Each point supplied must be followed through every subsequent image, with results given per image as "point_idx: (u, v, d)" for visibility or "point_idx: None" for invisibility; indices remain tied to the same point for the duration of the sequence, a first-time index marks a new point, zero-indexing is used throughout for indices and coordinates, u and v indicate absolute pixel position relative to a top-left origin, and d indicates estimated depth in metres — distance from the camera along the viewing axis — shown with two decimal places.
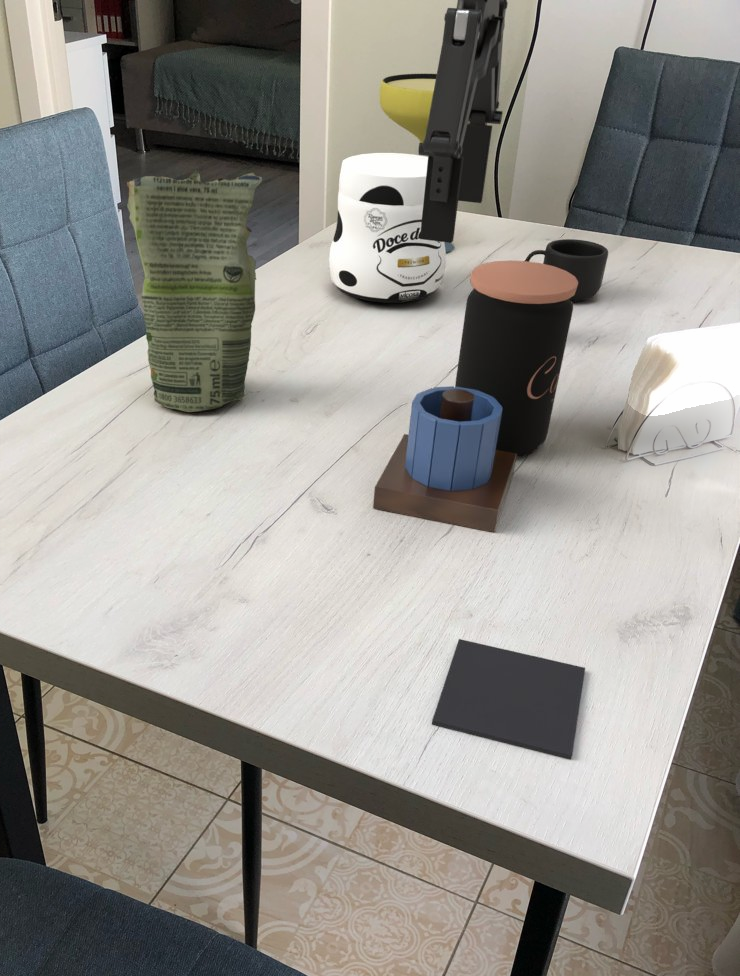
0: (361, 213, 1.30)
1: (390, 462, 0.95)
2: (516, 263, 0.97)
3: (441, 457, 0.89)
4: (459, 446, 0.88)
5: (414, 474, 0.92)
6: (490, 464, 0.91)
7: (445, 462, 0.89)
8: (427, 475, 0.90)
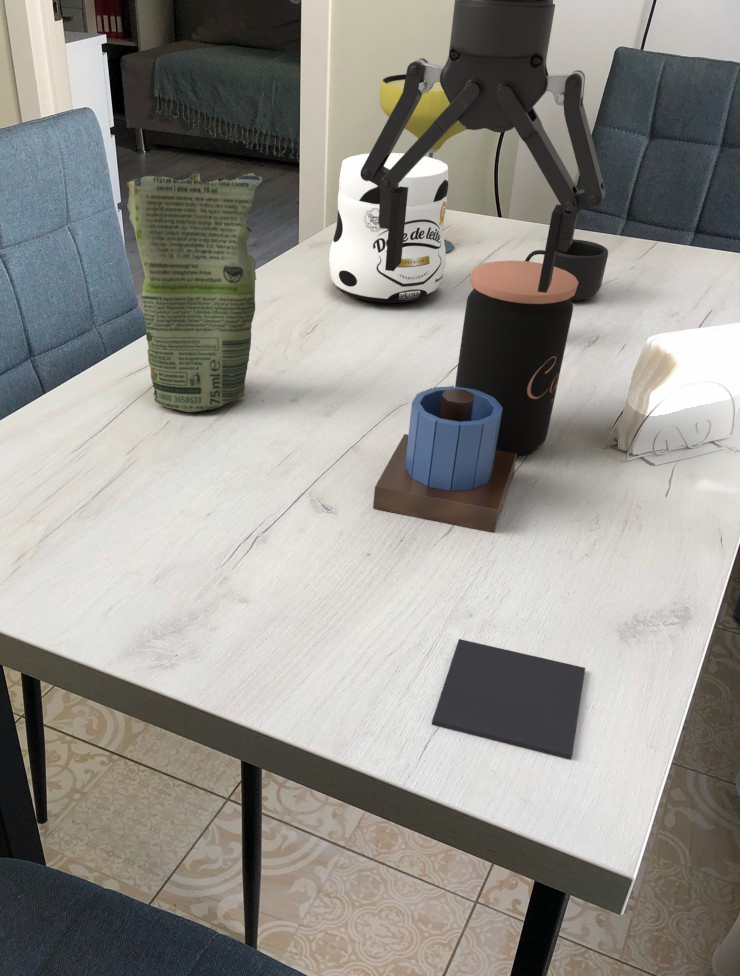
0: (361, 213, 1.30)
1: (390, 462, 0.95)
2: (516, 263, 0.97)
3: (441, 457, 0.89)
4: (459, 446, 0.88)
5: (414, 474, 0.92)
6: (490, 464, 0.91)
7: (445, 462, 0.89)
8: (427, 475, 0.90)
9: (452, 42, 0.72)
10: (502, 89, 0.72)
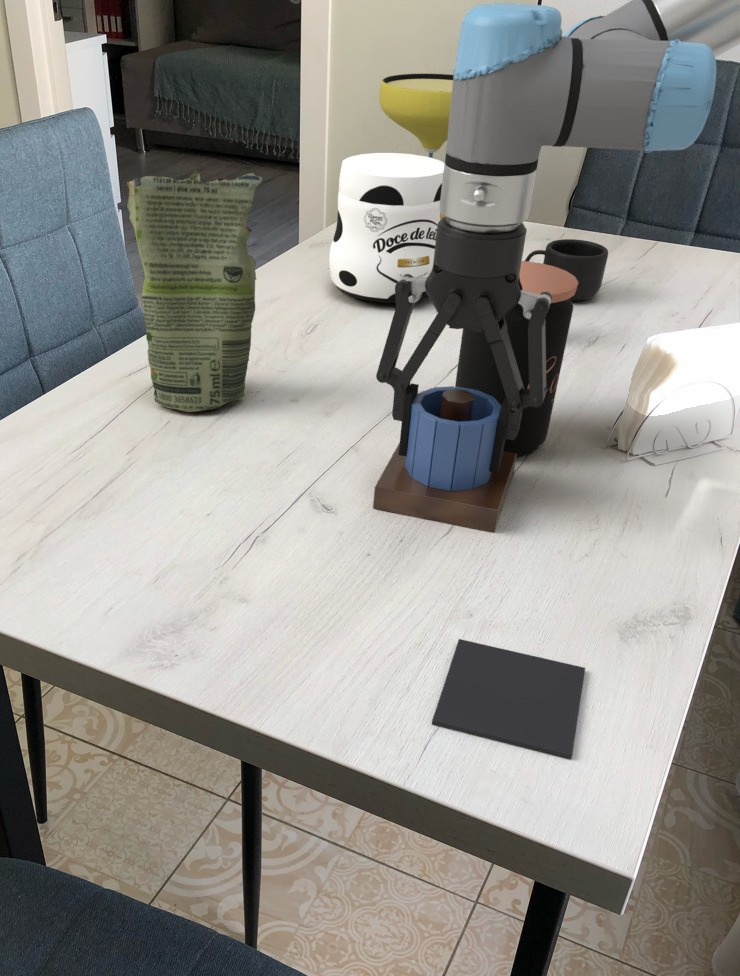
0: (361, 213, 1.30)
1: (390, 462, 0.95)
2: None
3: (441, 457, 0.89)
4: (459, 446, 0.88)
5: (414, 474, 0.92)
6: (490, 464, 0.91)
7: (445, 462, 0.89)
8: (427, 475, 0.90)
9: (435, 260, 0.81)
10: (481, 300, 0.81)
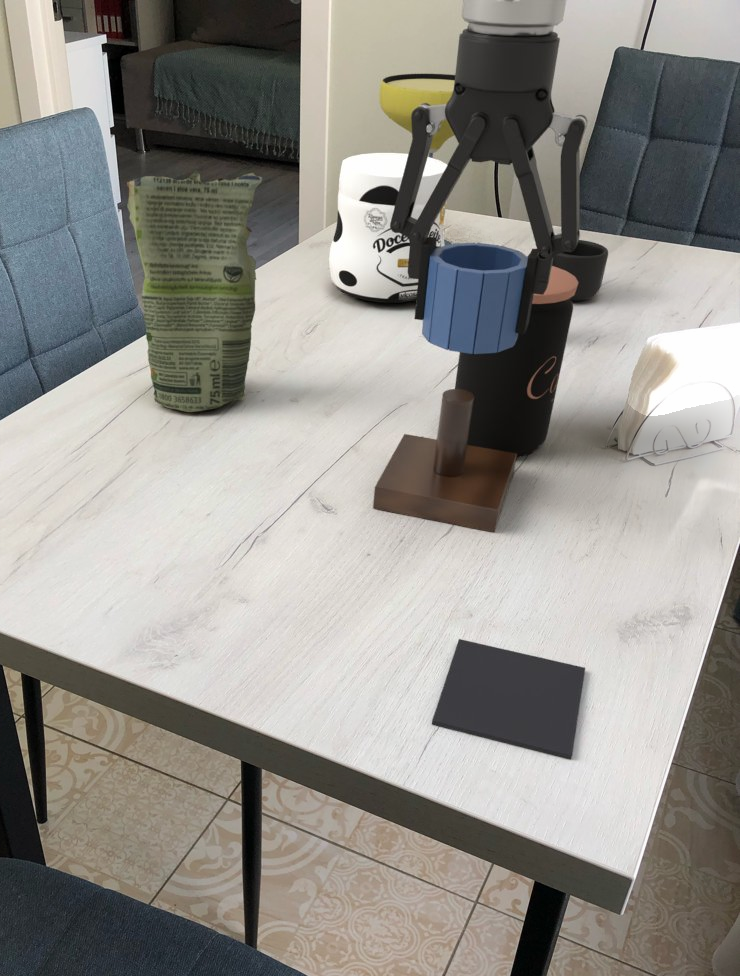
0: (361, 213, 1.30)
1: (390, 462, 0.95)
2: None
3: (462, 313, 0.80)
4: (483, 299, 0.79)
5: (432, 337, 0.83)
6: (516, 325, 0.82)
7: (467, 319, 0.80)
8: (447, 336, 0.82)
9: (457, 77, 0.72)
10: (508, 122, 0.73)
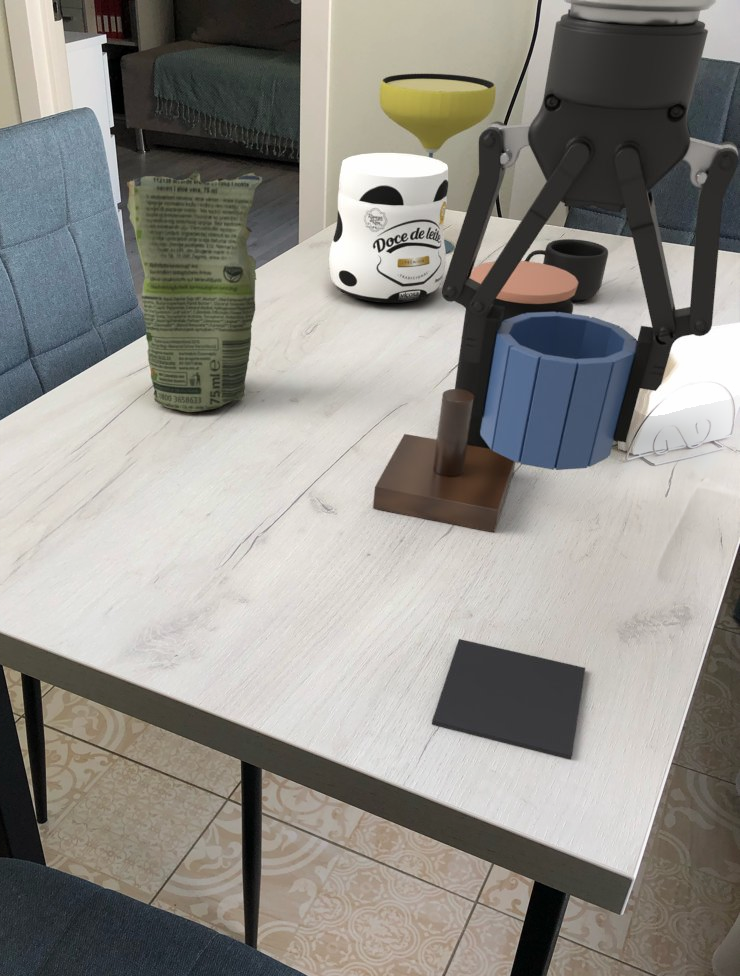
0: (361, 213, 1.30)
1: (390, 462, 0.95)
2: None
3: (543, 416, 0.57)
4: (573, 398, 0.56)
5: (497, 444, 0.60)
6: (615, 429, 0.59)
7: (549, 424, 0.57)
8: (519, 445, 0.59)
9: (551, 85, 0.49)
10: (625, 152, 0.50)
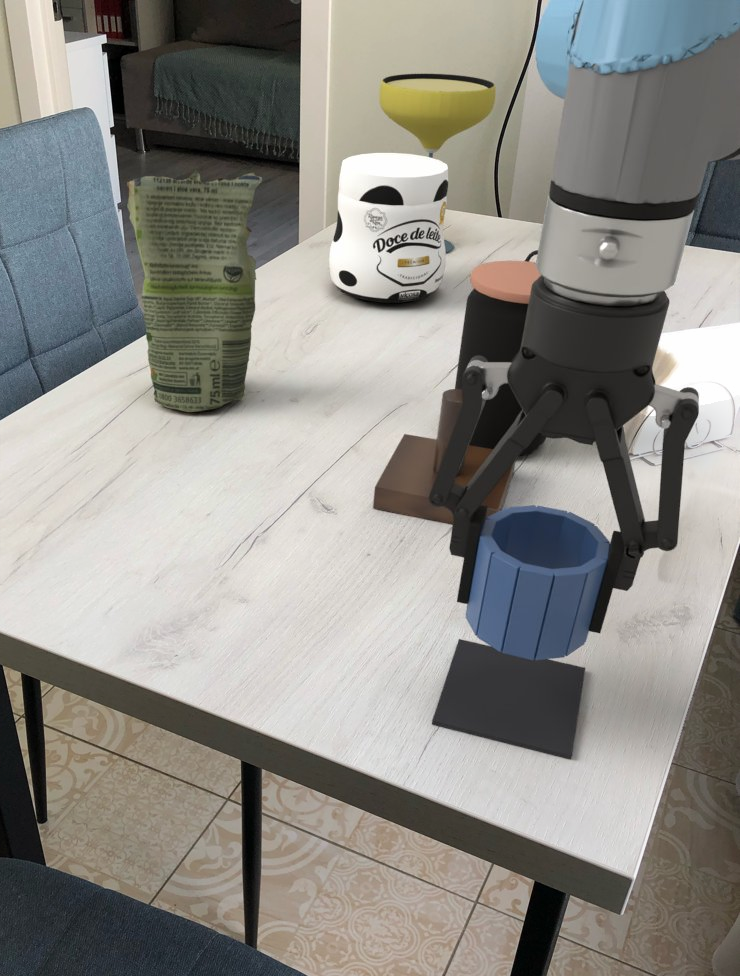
0: (361, 213, 1.30)
1: (390, 462, 0.95)
2: (516, 263, 0.97)
3: (523, 616, 0.61)
4: (551, 603, 0.60)
5: (481, 633, 0.64)
6: (590, 621, 0.64)
7: (529, 623, 0.62)
8: (501, 637, 0.63)
9: (527, 341, 0.54)
10: (595, 401, 0.54)
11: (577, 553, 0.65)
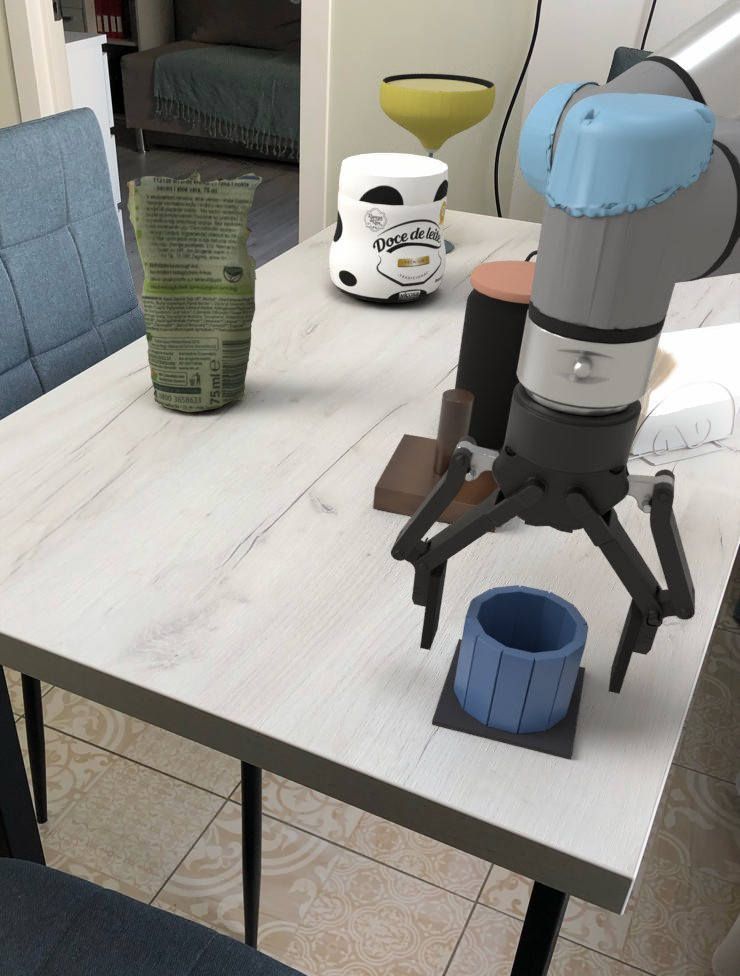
0: (361, 213, 1.30)
1: (390, 462, 0.95)
2: (516, 263, 0.97)
3: (506, 694, 0.66)
4: (532, 684, 0.65)
5: (467, 706, 0.69)
6: (570, 696, 0.68)
7: (511, 701, 0.66)
8: (486, 712, 0.67)
9: (510, 442, 0.57)
10: (572, 497, 0.58)
11: (558, 631, 0.69)
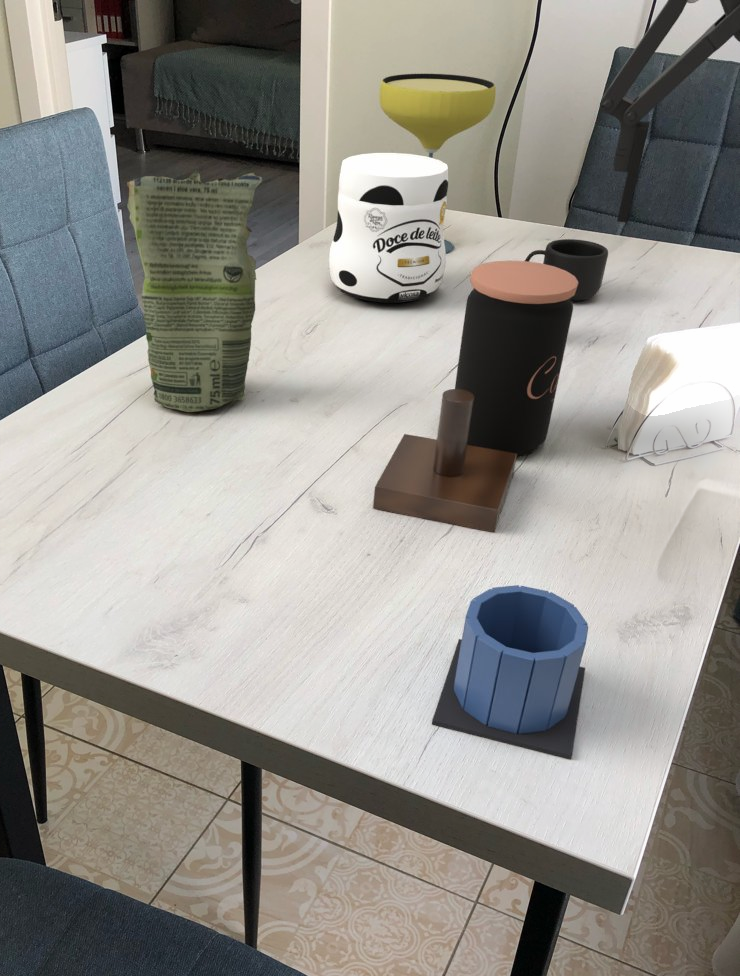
0: (361, 213, 1.30)
1: (390, 462, 0.95)
2: (516, 263, 0.97)
3: (506, 694, 0.66)
4: (532, 684, 0.65)
5: (467, 706, 0.69)
6: (570, 696, 0.68)
7: (511, 701, 0.66)
8: (486, 712, 0.67)
9: None
10: None
11: (558, 631, 0.69)
